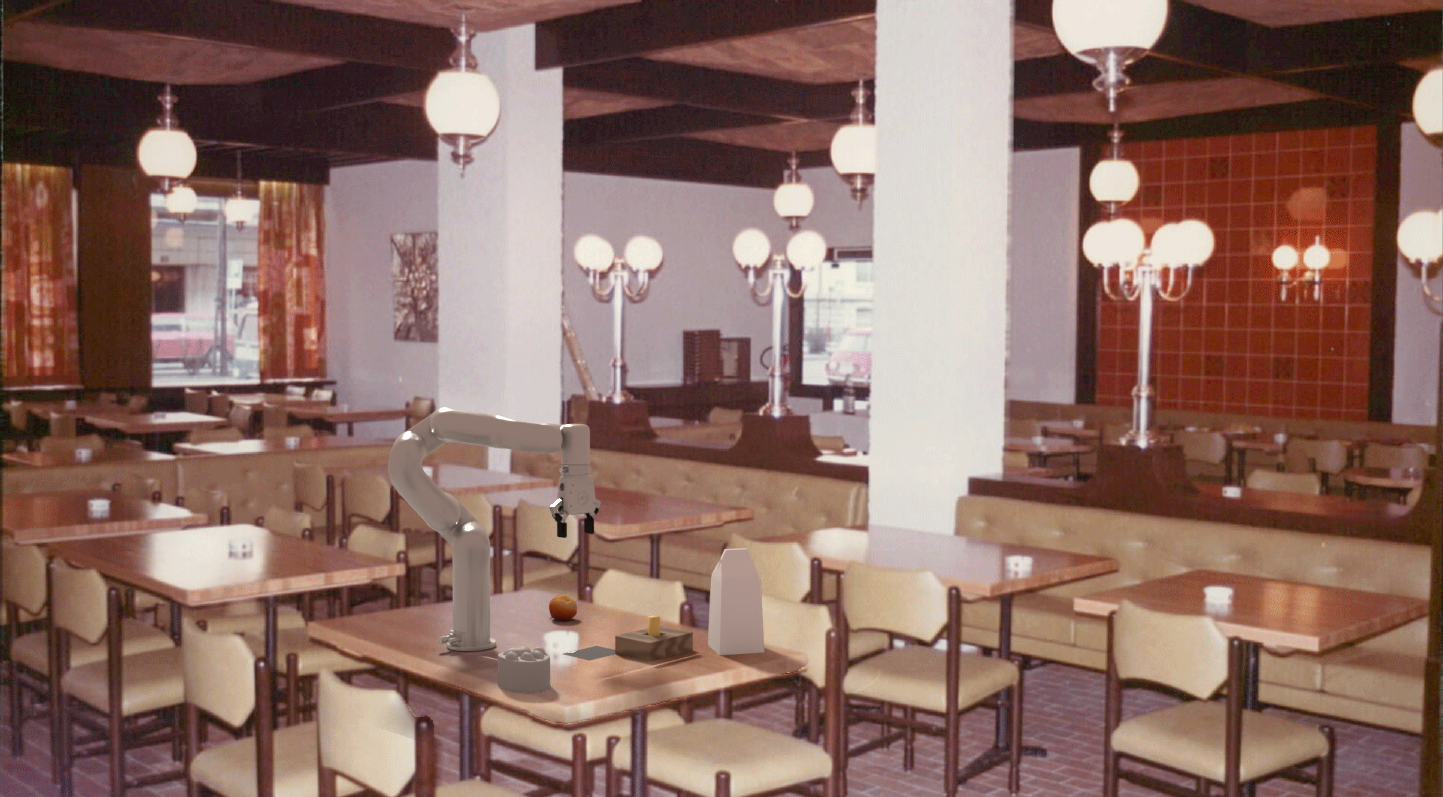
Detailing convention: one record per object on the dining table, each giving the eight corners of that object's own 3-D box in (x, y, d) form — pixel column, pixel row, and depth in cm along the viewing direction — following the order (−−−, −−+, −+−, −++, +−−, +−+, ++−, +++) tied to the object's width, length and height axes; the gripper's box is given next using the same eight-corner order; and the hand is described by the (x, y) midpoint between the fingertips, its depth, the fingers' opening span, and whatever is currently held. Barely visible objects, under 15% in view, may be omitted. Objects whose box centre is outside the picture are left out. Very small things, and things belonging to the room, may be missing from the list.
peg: (654, 655, 331) (654, 618, 331) (645, 653, 333) (645, 616, 333) (662, 653, 334) (662, 616, 333) (653, 651, 336) (653, 615, 335)
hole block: (649, 663, 324) (649, 643, 323) (615, 655, 332) (615, 635, 331) (692, 651, 336) (692, 632, 336) (659, 644, 344) (659, 625, 343)
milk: (719, 655, 332) (719, 553, 331) (707, 645, 343) (708, 546, 342) (764, 652, 335) (764, 551, 334) (751, 642, 346) (751, 544, 345)
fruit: (557, 610, 381) (567, 588, 378) (574, 627, 377) (585, 605, 374) (537, 614, 374) (548, 592, 372) (555, 631, 371) (566, 609, 368)
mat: (589, 661, 325) (589, 660, 325) (562, 655, 331) (562, 653, 331) (623, 653, 334) (623, 651, 334) (596, 647, 340) (596, 645, 340)
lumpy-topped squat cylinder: (530, 677, 310) (530, 641, 309) (561, 688, 300) (561, 651, 300) (492, 685, 303) (491, 648, 303) (522, 696, 293) (522, 658, 293)
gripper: (560, 474, 336) (560, 540, 337) (609, 469, 349) (609, 533, 350) (541, 472, 341) (541, 537, 342) (589, 467, 354) (589, 530, 355)
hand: (575, 535), depth 346 cm, fingers open, 9 cm apart
